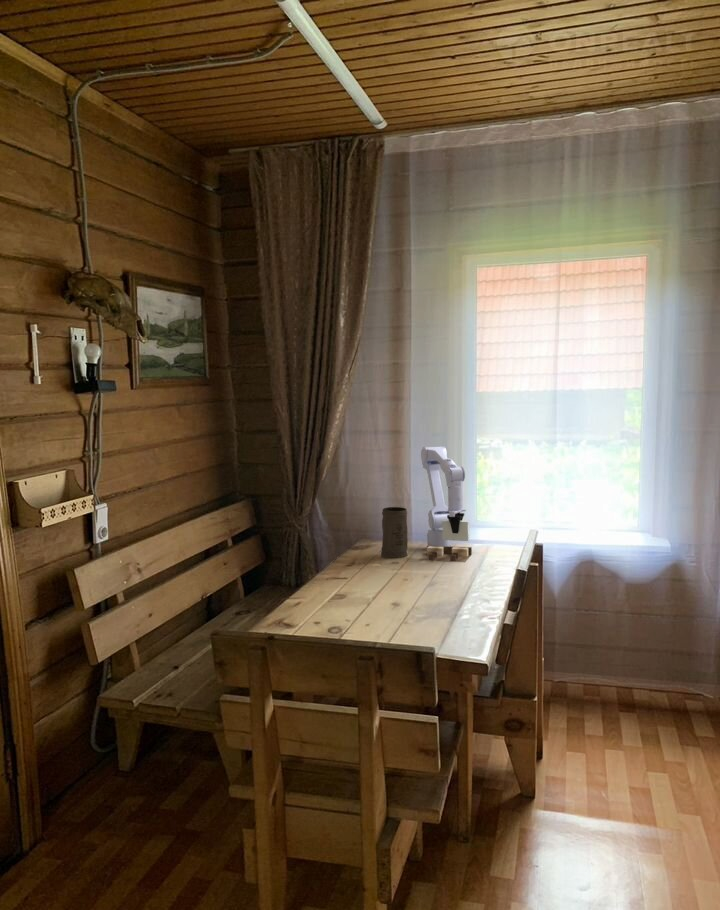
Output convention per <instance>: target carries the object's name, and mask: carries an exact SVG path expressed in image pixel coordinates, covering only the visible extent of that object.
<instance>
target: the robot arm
mask: <svg viewBox="0 0 720 910" xmlns="http://www.w3.org/2000/svg"><path fill="white" fill-rule="evenodd" d="M447 456H448V452H447V448H446V447H445V446H443V445H442V446H423V447H421V451H420V458H421V463H422V464H421V465H422V469H424V470H426V472H427V479H428V482H429V489H430V495H431V500H432V506H433V507H432V508H431V509H430V510H429V511H428V515H427V516H428V520H427V521H428V526H429V528H430V529H428V530H427V535H426V536H427V537H426V539H427V540H426V541H427V543H426V544H427V545H426V547H427V546H452V544H451V543H452V540H443V528H442V521H443V520H449V522H450V525H451V529H452V533H458V532H459V524H460V521H463V518H464V516H465V512H467V509H466V508H464V498H463V497H464V491H463V483H464V481H465V478H466V472H465V469H464V467H463V466H459V465H457V464H456V463H455V461H454V460H453V459H452V458H450V457H449V458H448V457H447ZM440 470H441V471H442V472H443V474H444V477H445V482H446V487H447V499H448V501H447V505H446V501H445V498H444V497H445V496H444V493H443V492H444V491H443V487H442V486H443V485H442V482H441V477H440Z"/></svg>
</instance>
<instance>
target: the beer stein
mask: <svg viewBox="0 0 720 910" xmlns="http://www.w3.org/2000/svg"><path fill="white" fill-rule="evenodd" d="M381 514H382V519H381V527H382V543H381V548H380V549H381V553H380V557H381V558H383V559H389V560H390V559H391V560H392V559H393V560H394V559H395V560H396V559H403V558H408V541H409V539H408V524H407V523H408V522H407V519H408V518H407V517H408V510H407V508H405V507H400V506H391V507H389V506H388V507H384V508H382V513H381Z"/></svg>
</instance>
